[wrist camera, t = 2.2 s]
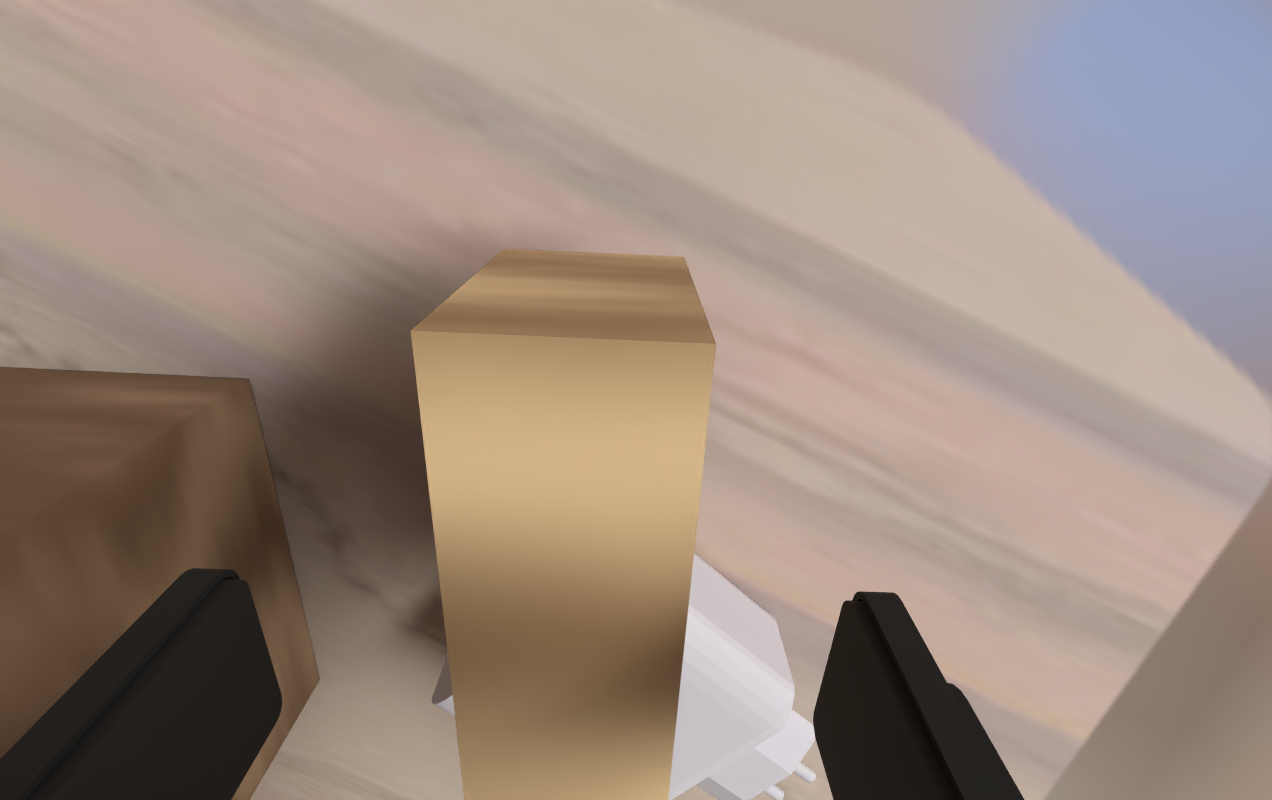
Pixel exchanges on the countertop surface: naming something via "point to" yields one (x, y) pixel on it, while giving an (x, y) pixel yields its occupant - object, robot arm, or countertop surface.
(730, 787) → the charger
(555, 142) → the countertop surface
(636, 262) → the tan rectangular block
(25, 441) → the wooden crate
